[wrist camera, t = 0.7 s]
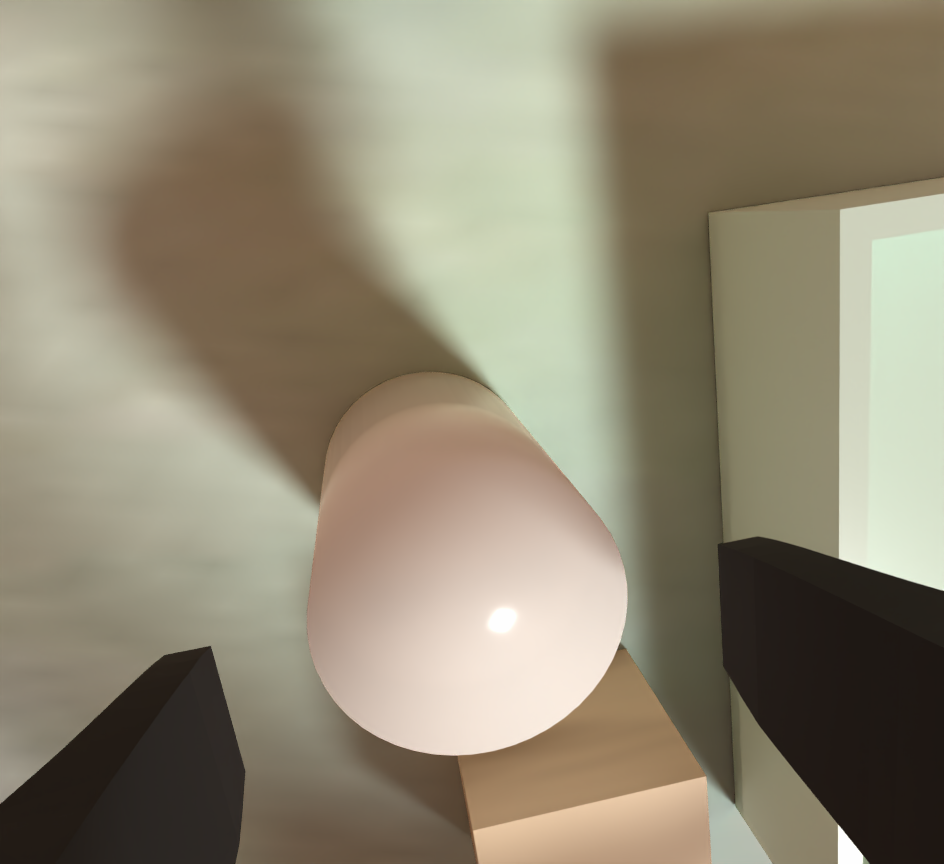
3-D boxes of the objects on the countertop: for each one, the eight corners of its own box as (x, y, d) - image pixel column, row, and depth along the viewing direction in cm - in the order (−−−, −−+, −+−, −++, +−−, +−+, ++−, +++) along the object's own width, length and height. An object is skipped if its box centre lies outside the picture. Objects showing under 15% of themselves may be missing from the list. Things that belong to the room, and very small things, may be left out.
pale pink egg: (540, 546, 19) (639, 718, 13) (345, 584, 19) (341, 785, 12) (517, 355, 18) (613, 436, 11) (304, 391, 17) (274, 497, 11)
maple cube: (638, 794, 22) (716, 954, 17) (470, 834, 21) (503, 1009, 17) (625, 647, 21) (706, 776, 16) (444, 685, 20) (472, 830, 15)
